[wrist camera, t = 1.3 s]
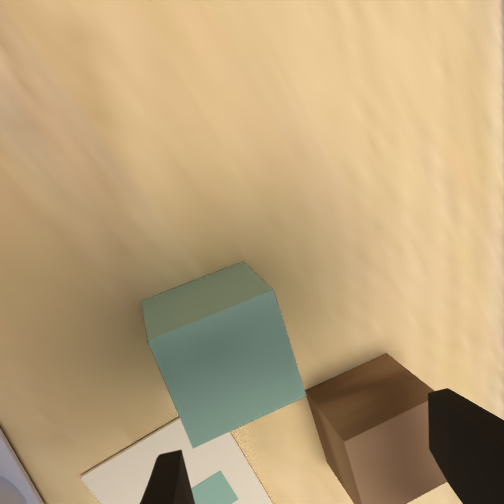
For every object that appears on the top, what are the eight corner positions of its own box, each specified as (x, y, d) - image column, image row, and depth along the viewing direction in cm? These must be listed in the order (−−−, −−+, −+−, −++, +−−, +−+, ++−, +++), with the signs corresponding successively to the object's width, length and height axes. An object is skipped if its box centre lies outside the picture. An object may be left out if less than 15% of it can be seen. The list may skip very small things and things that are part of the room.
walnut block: (326, 461, 26) (367, 524, 21) (304, 389, 24) (344, 441, 20) (402, 423, 26) (455, 477, 22) (385, 352, 25) (439, 394, 21)
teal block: (178, 390, 22) (192, 448, 18) (141, 300, 20) (147, 340, 16) (271, 349, 23) (306, 396, 19) (242, 260, 21) (273, 289, 17)
